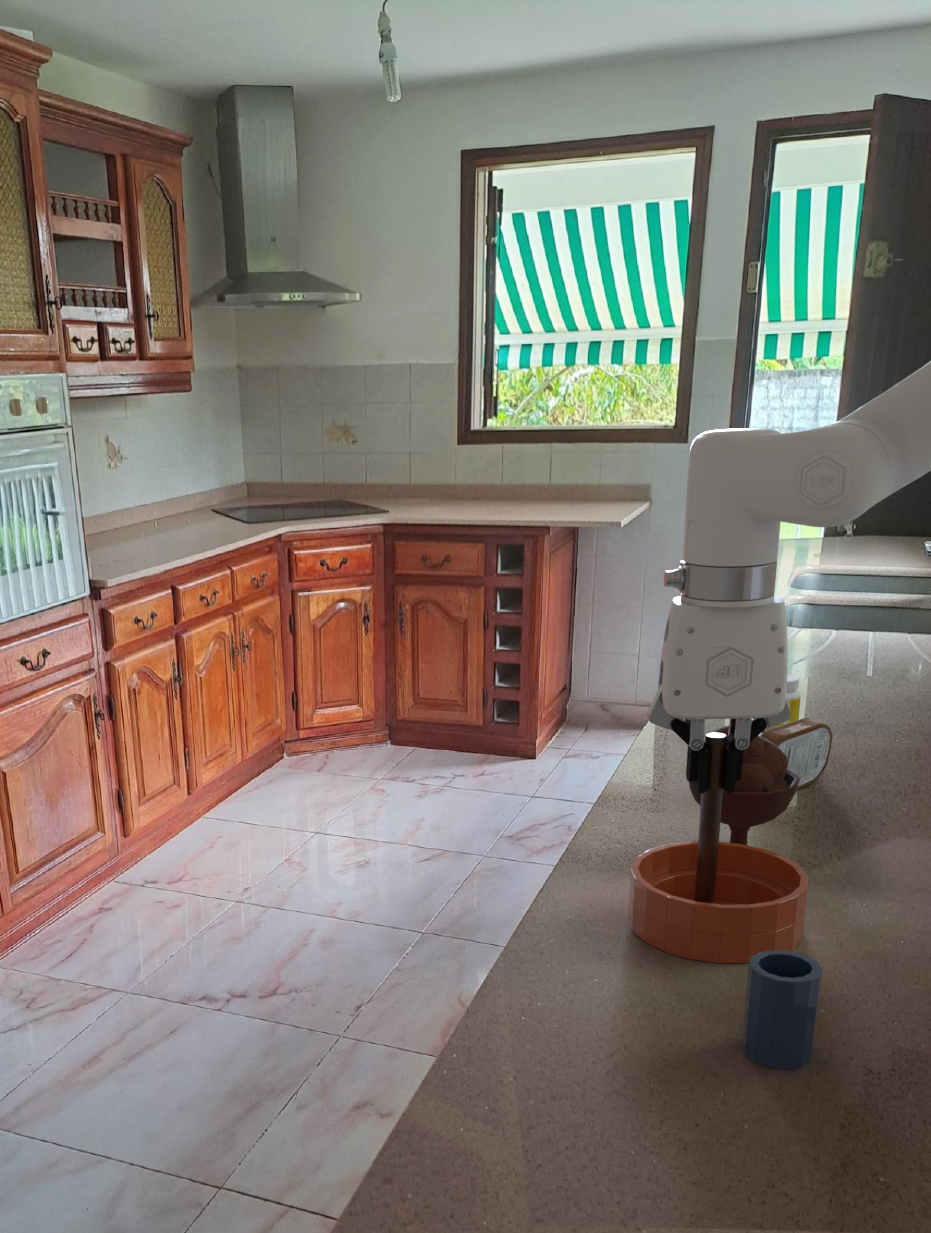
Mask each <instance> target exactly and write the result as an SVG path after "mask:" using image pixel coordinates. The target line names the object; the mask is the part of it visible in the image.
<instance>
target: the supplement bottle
mask: <svg viewBox="0 0 931 1233" xmlns="http://www.w3.org/2000/svg"><path fill="white" fill-rule="evenodd" d="M799 683H800V678H799V677H797V676H796V675H791V674H787V693H786V701H787V704H788V707H789V710H790V713H791V717H790V719H789V720H787V721H785V722H783V723H780V724H777V725H775V726H772V727H768V728H766V729H765V730H764V731H762V732H761V735H762V734H763V733H764V732H765V731H767V730H769V729H772V728H775V727H778V726H781V725H784V724H787V723H790V722H793V721H796V720H800V708H801V707H800V706H801V697H802V696H801V693H800V691H799V690H798V689H799Z"/></svg>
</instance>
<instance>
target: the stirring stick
mask: <svg viewBox="0 0 931 1233" xmlns="http://www.w3.org/2000/svg"><path fill="white" fill-rule="evenodd" d="M704 741H705V742H706V749H707V750H708V751H709V763H708V777H707V790H706V792H704V793H702V795H701V806H700V811H699V823H698V824H699V826H698V840H697V842H698V852H697V866H696V880H695V894H694V901H696V902H704V903H713V904H714V900H715V887H716V874H717V861H718V848H719V842H720V833H721V832H720V831H721V809H722V796H723V782H724V769H725V756H726V744H727V735H725V734H723V733H712V732H709V733H706V734H705V737H704Z"/></svg>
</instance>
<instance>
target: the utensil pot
mask: <svg viewBox="0 0 931 1233" xmlns="http://www.w3.org/2000/svg"><path fill="white" fill-rule="evenodd" d="M823 972H824V970H823V968H822V965H821V964H820V963H819V962H818V961H817V960H815V959H814V958H812V957H810V956H808V955H806V954H803V953H799V952H797V951H793V950H792V951H783V950H771V951H763V952H760V953H757V954H755V955H753V956H752V957H751V959H750V961H749V963H748V967H747V979H746V988H745V989H746V990H745V1000H744V1012H743V1024H742V1035H741V1036H742V1037H741V1049H742V1050H741V1051H742V1053H743V1054H744V1056H745V1057H746V1058H747V1059H748V1060H750V1062H752V1063H754V1064H756V1065H757V1066H761V1067H762V1068H763V1067H764V1068H767V1069H771V1070H775V1071H795V1070H799V1069H803V1068H806V1067H808V1066H809V1065H810V1064H811V1062H812V1060H813V1057H814V1051H815V1042H816V1034H817V1033H816V1032H817V1024H818V1017H819V1016H818V1014H819V1006H820V998H821V988H822V979H823Z"/></svg>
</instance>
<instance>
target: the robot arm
mask: <svg viewBox="0 0 931 1233" xmlns="http://www.w3.org/2000/svg"><path fill="white" fill-rule="evenodd" d="M687 467H688V468H687V479H686V480H687V481H686V482H687V483H686V500H685V513H684V514H685V515H684V534H683V549H682V550H683V551H682V552H683V553H682V560H680V565H678V568H674V569H673V570H665V571H664V574H663V586H664V588H670V587H671V588H673V589H677V590H678V592H679V593H680V596H675V597H673V598H672V601H671V604H670V607H669V612H668V616H667V621H666V625H665V629H664V635H663V641H662V642H663V643H662V648H661V654H660V655H661V656H660V663H659V671H658V679H657V680H658V681H657V691H656V693H655V695H654V697H653V699H652V702H651V703H650V706H649V708H648V710H647V712H646V718H647V719H648V721H649V723H651V724H652V725H655V726H658V727H660V728H663V729H666V730H670V731H672V732H674V733H675V734H676V736H678V737H679V739H681V740H682V741H683V742H684V743H685V744H686V745H687V749H686V750H687V751H686V752H687V753H686V766H685V768H686V769H685V778H686V780H687V782H688V783H689V782H691V781H692V785H693V787H694V788H695V790H696V792H697V793H704V792H706V790H707V777H708V763H709V751H708V750H707V749H706V742H705V731H706V730H705V728H706V720H729V722H728V725H729V732H728V736H727V744H726V756H725V769H724V782H723V789H724V791H725V792H727V793H734V791H735V781H740V780H741V776H742V764H743V752H744V750H745V749H747V748H748V746H749V743H750V742H751V741H752V740H753V739H754V738H756V737H757V736H758V735H759V736H760V735H761V734H762V731H764V730H765V729H766V728H768V727H772V726H775V725H777V724H780V723H783V722H785V721H787V720H789V719H790V717H791V713H790V710H789V707H788V704H787V701H786V693H787V675H788V661H789V659H788V658H789V655H788V654H789V653H788V650H789V649H788V623H787V622H788V620H787V611H786V610H787V609H786V603H785V600H784V599H783V598H781V597H780V596H777V595H775V592H776V579H777V570H778V556H779V553H778V552H779V544H780V532H781V523H788V524H792V525H799V526H805V527H812V528H833V527H839V526H842V525H846V524H848V523H851V522H853V521H854V520H856V519H858V518H859V517H861V516H862V515H863V514H864V513H866V512H867V511H868V510H870V509H871V508H873V507H874V506H875V505H877V504H878V503H880V502H881V501H883V500H884V499H886V498H888V497H890V496H891V495H892V494H895V493H896V492H897V491H899V490H901V489H902V488H904V487H906V486H907V485H910V484H911V483H913V482H915V481H916V480H918V479H920V478H922V477H924V476H925V475H926V474H928V473H930V472H931V360H930V361H929V362H927V363H926V364H924V365H923V366H921V367H920V368H918V369H917V370H915V371H914V372H913V373H911V374H909V375H908V376H907V377H905V378H904V379H902V380H901V381H899V382H898V383H896V384H894V385H893V386H892V387H890V388H889V389H887V390H886V391H884V392H882V393H881V394H879V395H878V396H876V397H874V398H873V399H871V400H870V401H868V402H866V403H865V404H863V405H862V406H860V407H858V408H857V409H856V410H854V411H852V412H851V413H849V414H848V415H846V416H844V417H842V418H841V419H839V420H838V421H836V422H834V423H831V424H827V425H824V426H822V427H817V428H812V429H806V430H801V431H793V432H785V433H784V432H783V433H781V432H780V431H778V430H775V429H772V428H764V427H748V428H747V427H746V428H745V427H742V428H739V427H738V428H723V429H713V430H708V431H704V432H702V433H700V434H699V435H697V436H696V437H695V438H694V439H693V440H692V443H691V446H690V448H689V454H688V466H687Z"/></svg>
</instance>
